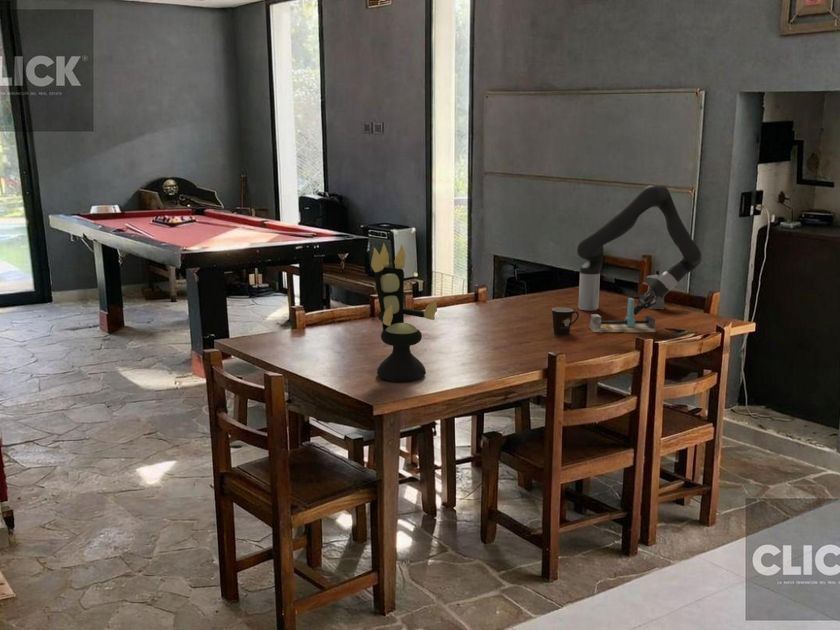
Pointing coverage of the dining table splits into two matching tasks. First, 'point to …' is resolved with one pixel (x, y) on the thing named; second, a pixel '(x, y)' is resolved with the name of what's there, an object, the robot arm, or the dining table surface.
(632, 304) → the teal upright slider
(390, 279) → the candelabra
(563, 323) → the coffee mug
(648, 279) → the coffeepot
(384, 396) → the dining table surface
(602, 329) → the cord board
